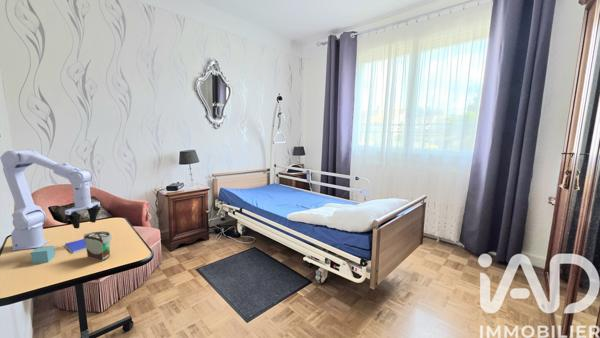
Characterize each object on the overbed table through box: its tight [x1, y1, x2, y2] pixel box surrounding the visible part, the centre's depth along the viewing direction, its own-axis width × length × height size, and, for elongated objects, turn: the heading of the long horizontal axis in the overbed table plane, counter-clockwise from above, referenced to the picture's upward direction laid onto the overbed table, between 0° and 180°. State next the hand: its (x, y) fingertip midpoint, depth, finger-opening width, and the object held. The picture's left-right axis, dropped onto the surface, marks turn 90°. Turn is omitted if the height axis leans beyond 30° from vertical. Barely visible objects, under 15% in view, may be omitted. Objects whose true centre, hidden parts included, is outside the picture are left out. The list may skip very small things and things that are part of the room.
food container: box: [83, 230, 113, 262], centre depth 107 cm, size 12×6×10 cm, turn 71°
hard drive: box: [64, 238, 87, 254], centre depth 116 cm, size 2×8×12 cm
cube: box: [30, 245, 56, 265], centre depth 102 cm, size 5×5×5 cm
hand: (85, 225), depth 116 cm, fingers open, 7 cm apart
